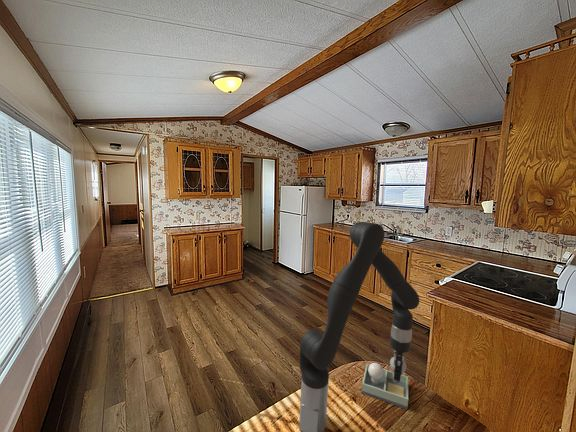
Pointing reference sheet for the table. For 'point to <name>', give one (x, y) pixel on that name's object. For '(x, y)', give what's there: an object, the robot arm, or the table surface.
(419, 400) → the table surface
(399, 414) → the table surface
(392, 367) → the lightbulb
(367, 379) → the tray
